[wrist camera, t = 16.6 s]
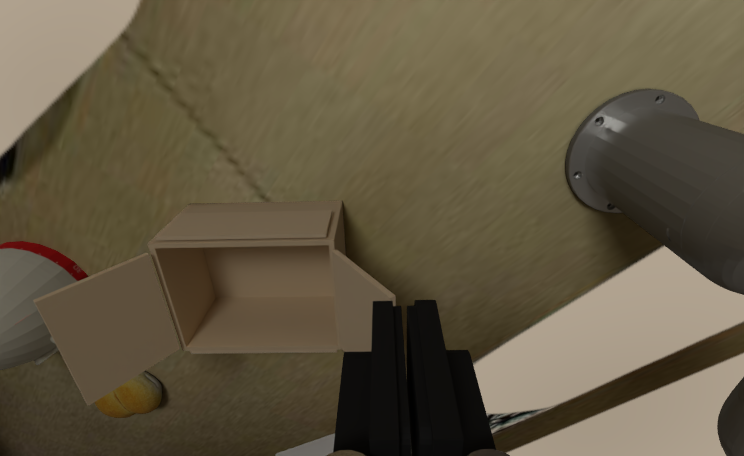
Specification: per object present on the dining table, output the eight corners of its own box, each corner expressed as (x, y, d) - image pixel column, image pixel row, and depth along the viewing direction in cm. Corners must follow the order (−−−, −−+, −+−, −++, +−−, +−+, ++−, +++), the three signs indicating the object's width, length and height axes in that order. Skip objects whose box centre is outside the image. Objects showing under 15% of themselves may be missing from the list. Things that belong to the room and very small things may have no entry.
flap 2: (336, 249, 36) (395, 295, 30) (344, 345, 41) (395, 402, 35) (332, 251, 36) (390, 298, 29) (340, 347, 41) (391, 404, 35)
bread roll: (174, 398, 59) (161, 422, 56) (121, 407, 60) (105, 432, 57) (146, 357, 56) (130, 380, 52) (90, 369, 57) (70, 392, 53)
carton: (341, 195, 44) (333, 234, 36) (349, 301, 50) (343, 354, 42) (188, 198, 44) (145, 237, 36) (215, 303, 51) (184, 355, 43)
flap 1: (148, 254, 36) (35, 302, 30) (179, 348, 41) (88, 405, 35) (146, 252, 37) (32, 300, 31) (177, 346, 42) (86, 403, 36)
